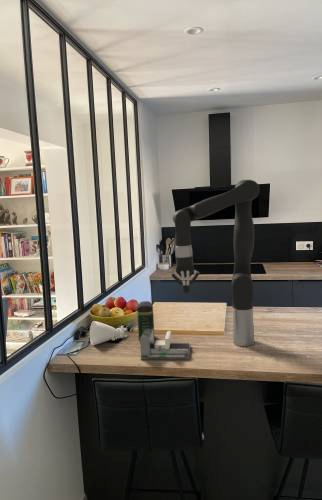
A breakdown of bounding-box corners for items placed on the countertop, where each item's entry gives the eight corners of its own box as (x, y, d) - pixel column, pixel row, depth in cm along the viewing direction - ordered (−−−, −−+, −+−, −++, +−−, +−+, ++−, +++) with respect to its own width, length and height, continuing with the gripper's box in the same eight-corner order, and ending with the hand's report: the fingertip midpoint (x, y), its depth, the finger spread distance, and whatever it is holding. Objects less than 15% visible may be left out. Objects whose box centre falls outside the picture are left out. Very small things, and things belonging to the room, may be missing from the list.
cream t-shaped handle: (171, 345, 172) (170, 331, 171) (168, 356, 162) (167, 340, 161) (157, 345, 173) (156, 331, 172) (153, 356, 163) (152, 340, 162)
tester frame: (190, 346, 174) (189, 328, 172) (188, 360, 160) (188, 339, 159) (146, 346, 177) (145, 328, 175) (140, 359, 163) (139, 339, 162)
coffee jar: (154, 342, 182) (152, 305, 179) (138, 342, 182) (135, 306, 179) (154, 334, 192) (152, 299, 189) (139, 335, 192) (137, 300, 189)
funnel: (128, 317, 192) (95, 316, 184) (133, 336, 184) (98, 336, 176) (121, 329, 199) (88, 329, 191) (125, 348, 192) (91, 349, 183)
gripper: (199, 252, 169) (201, 290, 171) (170, 254, 170) (172, 291, 173) (198, 255, 161) (201, 294, 164) (168, 257, 163) (171, 296, 166)
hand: (186, 292), depth 168 cm, fingers closed
